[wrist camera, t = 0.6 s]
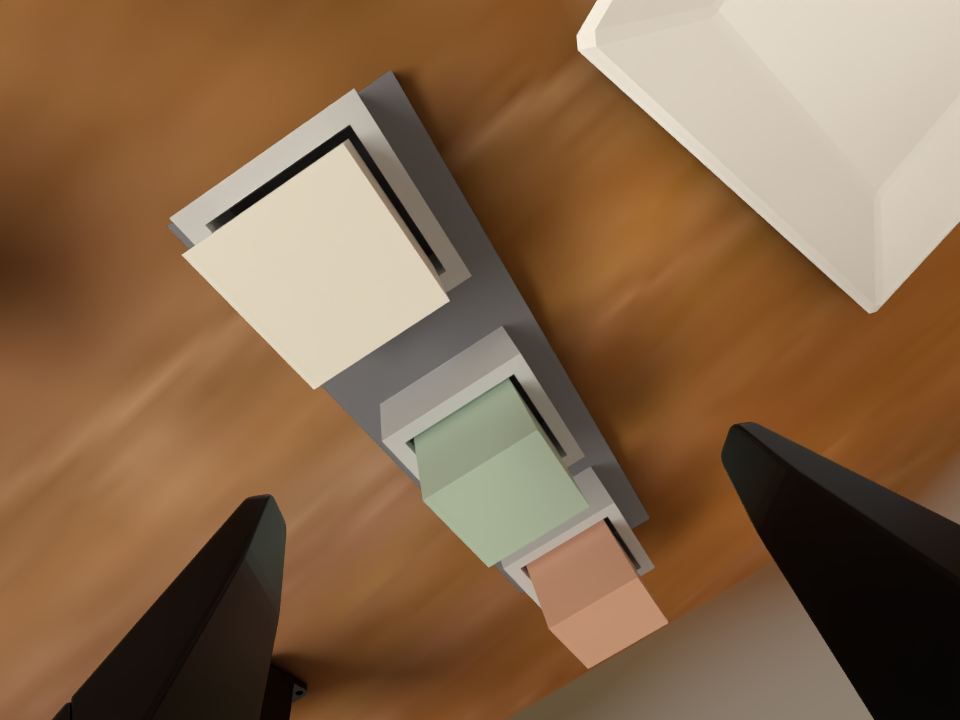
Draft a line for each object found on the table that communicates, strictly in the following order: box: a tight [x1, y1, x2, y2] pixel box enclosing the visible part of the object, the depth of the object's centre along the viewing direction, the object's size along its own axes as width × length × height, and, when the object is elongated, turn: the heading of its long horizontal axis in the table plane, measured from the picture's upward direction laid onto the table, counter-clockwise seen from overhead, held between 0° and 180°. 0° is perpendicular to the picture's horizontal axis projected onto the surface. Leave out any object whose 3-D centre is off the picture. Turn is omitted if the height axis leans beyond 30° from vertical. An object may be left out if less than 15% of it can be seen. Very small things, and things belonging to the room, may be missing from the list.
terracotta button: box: [526, 519, 668, 669], centre depth 25 cm, size 5×5×4 cm
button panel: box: [167, 70, 655, 609], centre depth 23 cm, size 10×29×4 cm, turn 31°
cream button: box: [182, 139, 450, 389], centre depth 15 cm, size 5×5×4 cm
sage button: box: [414, 378, 590, 567], centre depth 20 cm, size 5×5×4 cm
